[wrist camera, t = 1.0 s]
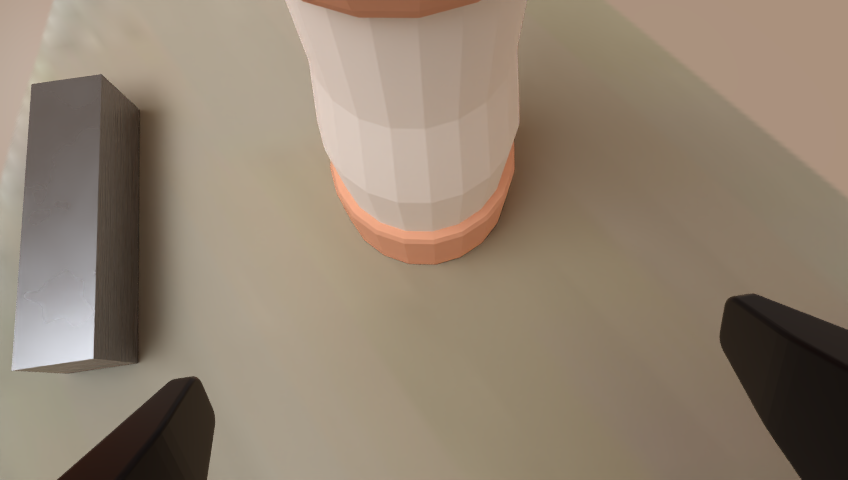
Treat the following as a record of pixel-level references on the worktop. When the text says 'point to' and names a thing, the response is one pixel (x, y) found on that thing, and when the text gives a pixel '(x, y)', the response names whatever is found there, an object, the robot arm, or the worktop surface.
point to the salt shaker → (416, 116)
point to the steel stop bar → (79, 230)
